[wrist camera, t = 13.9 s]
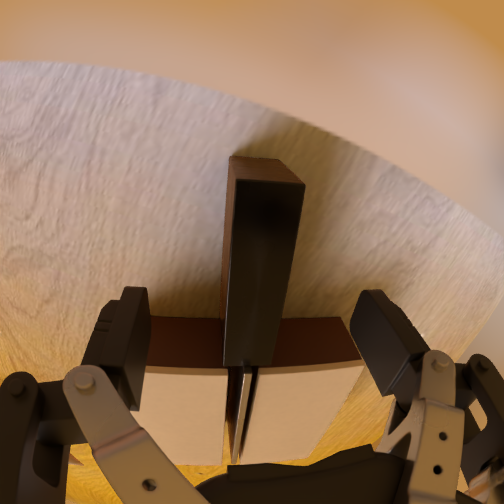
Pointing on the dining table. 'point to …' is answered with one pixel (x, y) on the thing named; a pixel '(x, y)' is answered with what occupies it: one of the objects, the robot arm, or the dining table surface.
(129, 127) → the dining table surface
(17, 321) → the dining table surface
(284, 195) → the knife
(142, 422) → the slotted tan block
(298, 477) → the robot arm
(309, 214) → the dining table surface
